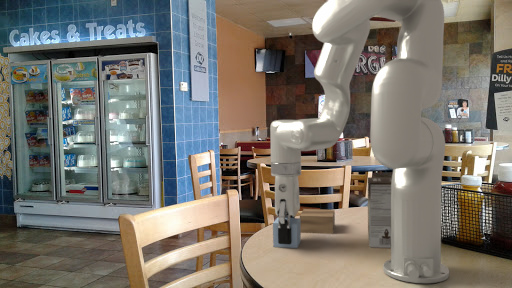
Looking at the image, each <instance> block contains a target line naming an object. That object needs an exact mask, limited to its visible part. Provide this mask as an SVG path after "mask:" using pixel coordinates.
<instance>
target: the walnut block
mask: <svg viewBox="0 0 512 288" xmlns="http://www.w3.org/2000/svg"><path fill="white" fill-rule="evenodd" d="M335 211H336V210H335V209H321V208H320V209H318V208H314V209H312V208H303V209H302V211H301V213H300V214H299V218H300V224H301V234H325V235H333V234H334V230H335V226H336V221H335V220H336V219H335V218H336V217H335V216H336V215H335V214H336V213H335Z"/></svg>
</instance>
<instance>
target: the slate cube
mask: <svg viewBox="0 0 512 288" xmlns="http://www.w3.org/2000/svg"><path fill="white" fill-rule="evenodd" d="M285 219H288V218H285ZM278 220H279V217H276V218H275V220H274V221H273V222H272V240H273V241H272V244H273V247H274V248H287V249H298V248H299V246H300V244H301V242H302V239H301V236H302V235H301V234H302V233H301V224H300V217H298V218H297V217H295V218H290V228H291V244H279V243H278Z"/></svg>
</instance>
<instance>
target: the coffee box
mask: <svg viewBox="0 0 512 288" xmlns="http://www.w3.org/2000/svg"><path fill="white" fill-rule="evenodd" d="M391 182H392V176H391V177H383V176H382V177H380V176H379V177H376V176H375V177H373V176H372V177H371V176H370V177H367V234H368V235H367V236H368V237H367V238H368V246H369V247H370V248H384V249H391Z"/></svg>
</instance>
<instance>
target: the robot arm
mask: <svg viewBox="0 0 512 288" xmlns="http://www.w3.org/2000/svg"><path fill="white" fill-rule="evenodd" d="M375 16H377V17H380V18H385V19H387V20H390V21H396V22H399V23H400V24H401V26H400V30H399V33H398V37H397V44H396V50H397V51H396V58H395V59H392V60H389V61H388V62H386V63H385V64H383V65H382V66H381V68H380V69H379V70H378V71H377V73H376V75H375V77H374V79H373V83H372V87H371V100H370V101H371V103H370V104H371V105H370V130H369V132H370V133H369V134H370V136H369V137H370V147H371V148H370V149H371V152H372V154H373V157H374V158H375V159H376V161H377V162H378V163H380V165H382V166H383V167H385V168H388V169H392V175H391V177H392V182H391V248H390V254H391V255H390V257H391V258H390V259H388V260H387V261H385V262H384V263H383V265H382V266H383V267H382V270H383V272H384V273H385V274H386V275H387V276H388V277H390V278H392V279H396V280H398V281H402V282H407V283H412V284H413V283H415V284H436V283H440V282H444V281H446V280H447V279H449V277H450V270H449V268H448V267H447V266H446V265H444V264H443V263H442V261H441V260H442V253H441V252H442V251H441V250H442V182H443V179H442V177H443V168H444V160H445V154H446V153H445V152H446V139H445V135H444V132H443V130H442V129H441V127H440V126H439V125H438V123H437V122H435V121H433V120H431V119H430V118H427V117H422V110H426V109H429V108H431V107H433V106H434V105H436V104H437V102H438V101H439V99H440V98H441V95H442V90H443V89H442V88H443V64H444V62H443V61H444V33H445V32H444V30H445V9H444V5H443V1H442V0H326V1H325V2H324V3H322V5H321V6H320V7H319V8H318V9H317V11H316V13H315V14H314V17H313V18H312V19H313V20H312V22H311V23H312V24H311V28H312V29H311V30H312V33H313V36H314V37H315V38H316V39H317V41H319V42H321V43H323V45H322V48H321V51H320V54H319V56H318V58H317V62H316V64H315V67H314V69H313V70H314V71H313V75H314V78H315V79H316V80H317V81H318V82H319V83H320V85H321V86H322V89H323V90H324V91H323V92H324V102H323V107H322V109H321V112H320V115H319V117H318V118H302V119H278V120H277V119H276V120H273V121H272V122H271V123H270V128H269V129H270V136H269V137H270V175H271V176H272V177H274V178H275V179H274V211H275V216H277V217H278V218H279V220H278V243H279V244H291V228H290V218H296V216H297V214H298V213H299V212H300V209H301V208H300V207H301V204H300V202H301V201H300V200H301V199H300V186H299V185H300V183H299V176H301V175H302V153H301V152H311V151H316V150H322V149H323V150H325V149H328V148H331V147H333V146H334V145H336V144H337V142H338V141H339V139H340V138H341V136H342V133H343V131H344V129H345V126H346V124H347V122H348V118H349V115H350V110H351V90H350V83H351V81H352V78H353V75H354V74H355V70H356V68H357V66H358V63H359V60H360V57H361V55H362V53H363V50H364V47H365V44H366V42H367V40H368V36H369V34H370V30H371V19H372V18H373V17H375ZM285 218H288V219H285Z"/></svg>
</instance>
